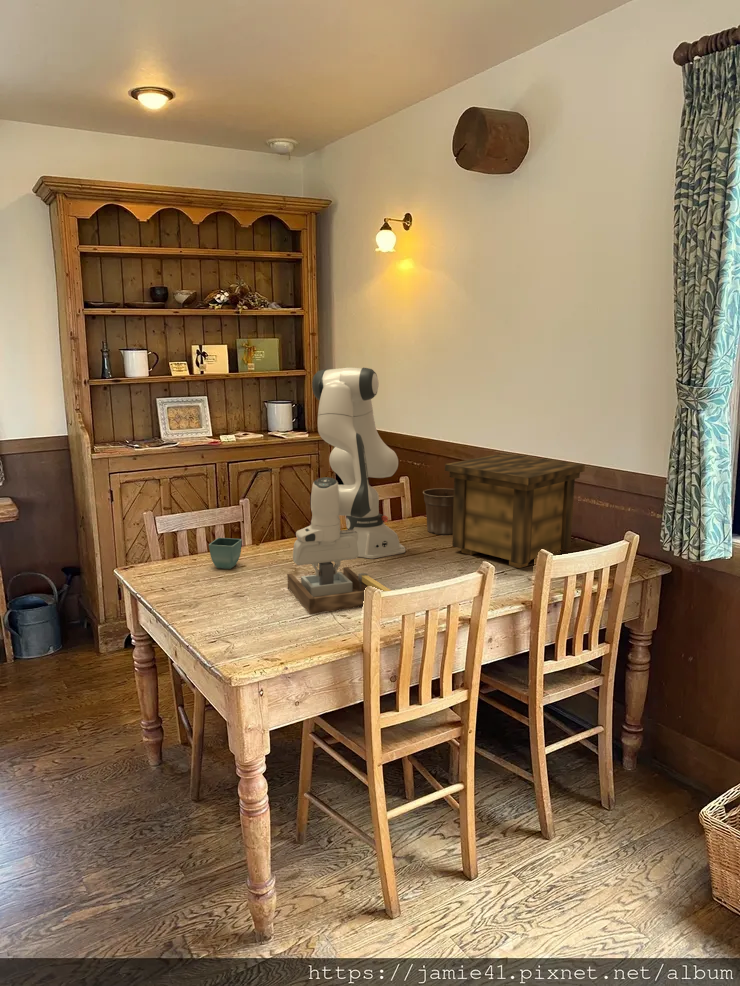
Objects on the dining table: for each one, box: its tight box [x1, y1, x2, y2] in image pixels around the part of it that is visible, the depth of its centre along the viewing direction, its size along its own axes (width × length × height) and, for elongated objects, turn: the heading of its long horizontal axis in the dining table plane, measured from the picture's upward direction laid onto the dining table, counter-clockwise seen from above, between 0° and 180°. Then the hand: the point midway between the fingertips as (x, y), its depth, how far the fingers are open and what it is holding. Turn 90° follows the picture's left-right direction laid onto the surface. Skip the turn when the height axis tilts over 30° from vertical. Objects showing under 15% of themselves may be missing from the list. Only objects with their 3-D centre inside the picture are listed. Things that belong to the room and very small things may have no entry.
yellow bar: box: [357, 572, 392, 591], centre depth 222 cm, size 18×3×2 cm, turn 27°
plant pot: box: [422, 487, 454, 536], centre depth 303 cm, size 16×16×16 cm
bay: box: [287, 566, 367, 615], centre depth 230 cm, size 20×24×5 cm
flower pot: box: [208, 537, 243, 570], centre depth 257 cm, size 9×9×9 cm
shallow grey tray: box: [300, 562, 352, 597], centre depth 232 cm, size 13×11×8 cm
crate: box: [444, 452, 586, 569], centre depth 272 cm, size 35×35×33 cm
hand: (326, 575), depth 232 cm, fingers closed on shallow grey tray, 3 cm apart
